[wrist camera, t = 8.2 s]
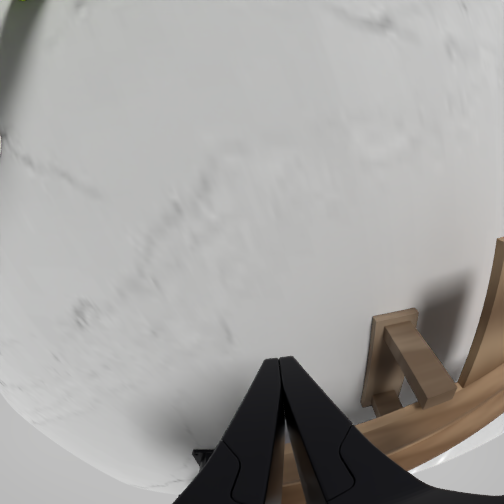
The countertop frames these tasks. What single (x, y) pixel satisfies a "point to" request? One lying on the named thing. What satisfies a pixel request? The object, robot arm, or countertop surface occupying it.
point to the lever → (442, 415)
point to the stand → (402, 365)
